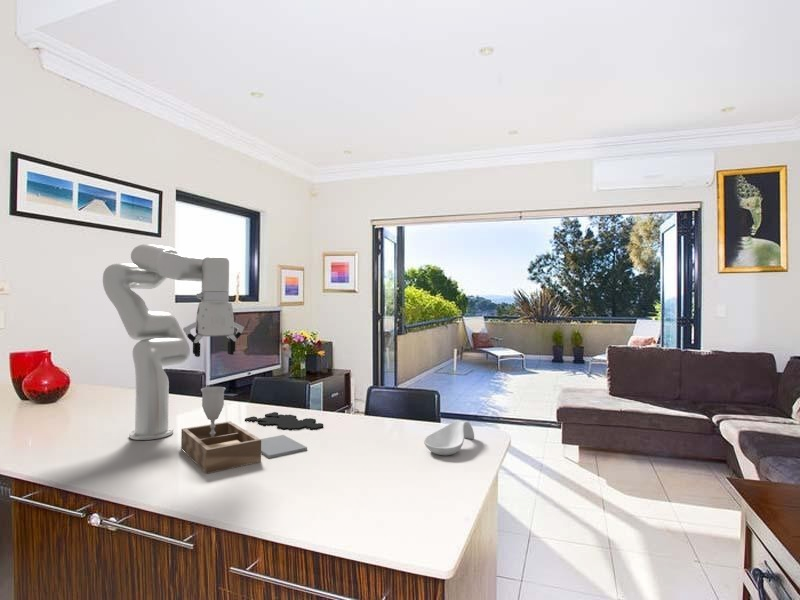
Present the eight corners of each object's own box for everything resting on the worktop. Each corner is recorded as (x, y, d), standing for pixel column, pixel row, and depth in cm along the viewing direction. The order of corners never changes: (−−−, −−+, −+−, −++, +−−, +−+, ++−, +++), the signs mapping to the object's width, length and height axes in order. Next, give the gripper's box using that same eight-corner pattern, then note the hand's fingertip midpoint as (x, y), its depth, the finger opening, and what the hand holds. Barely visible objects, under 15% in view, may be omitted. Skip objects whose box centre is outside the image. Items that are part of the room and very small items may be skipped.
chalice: (230, 448, 137) (230, 388, 137) (209, 454, 131) (210, 392, 131) (214, 444, 141) (215, 385, 141) (194, 450, 135) (195, 389, 135)
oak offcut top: (204, 453, 127) (204, 445, 127) (236, 446, 133) (236, 439, 133) (214, 460, 121) (214, 453, 121) (247, 453, 127) (247, 446, 127)
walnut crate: (181, 449, 136) (181, 428, 136) (230, 440, 145) (230, 421, 145) (206, 473, 117) (207, 450, 117) (260, 461, 126) (261, 439, 126)
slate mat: (247, 444, 141) (247, 441, 141) (283, 437, 149) (283, 434, 149) (268, 458, 129) (268, 455, 129) (307, 449, 136) (307, 447, 136)
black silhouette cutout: (243, 421, 169) (299, 435, 152) (243, 418, 169) (299, 433, 152) (277, 413, 182) (332, 425, 165) (277, 410, 182) (332, 423, 165)
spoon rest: (453, 462, 128) (453, 437, 128) (416, 454, 134) (417, 430, 134) (484, 441, 148) (484, 419, 148) (451, 435, 154) (451, 414, 155)
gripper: (187, 297, 128) (186, 358, 128) (248, 298, 139) (247, 354, 139) (180, 297, 133) (179, 355, 133) (239, 298, 144) (238, 352, 144)
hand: (214, 355), depth 136 cm, fingers open, 9 cm apart
